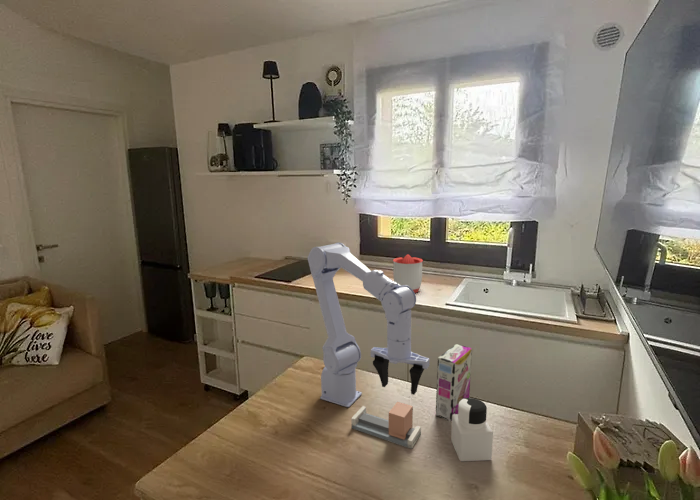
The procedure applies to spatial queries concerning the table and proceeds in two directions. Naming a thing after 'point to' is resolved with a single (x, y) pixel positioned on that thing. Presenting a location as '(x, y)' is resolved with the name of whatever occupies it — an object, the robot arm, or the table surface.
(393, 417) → the pink rectangular block
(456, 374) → the candy bar box
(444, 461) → the table surface
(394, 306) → the robot arm
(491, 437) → the medicine bottle
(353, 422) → the rail
